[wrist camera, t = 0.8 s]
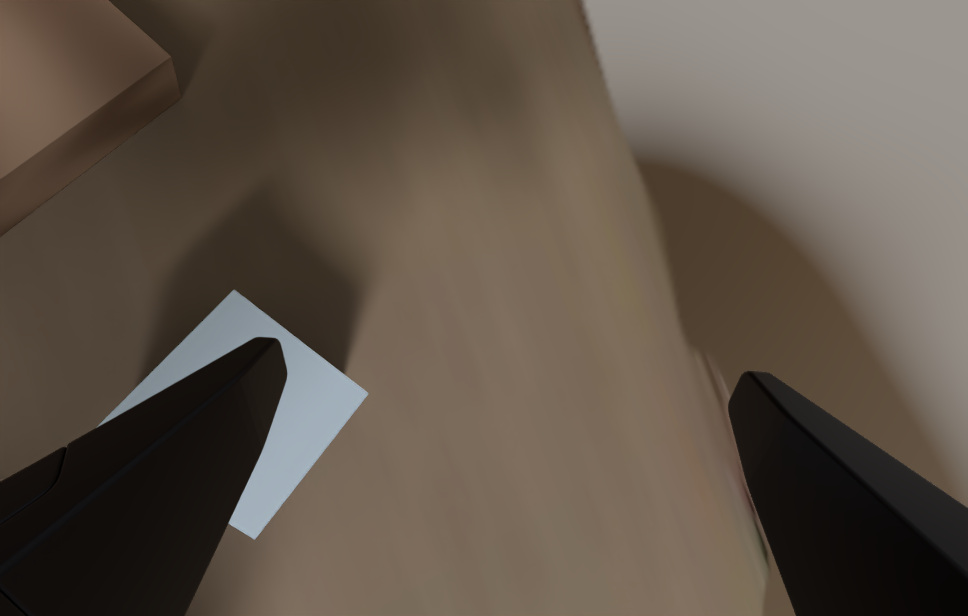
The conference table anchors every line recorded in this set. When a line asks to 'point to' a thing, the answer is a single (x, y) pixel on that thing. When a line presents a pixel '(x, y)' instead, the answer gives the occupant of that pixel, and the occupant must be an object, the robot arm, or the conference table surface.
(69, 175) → the walnut base
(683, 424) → the conference table surface
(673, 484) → the conference table surface
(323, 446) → the slate cube
